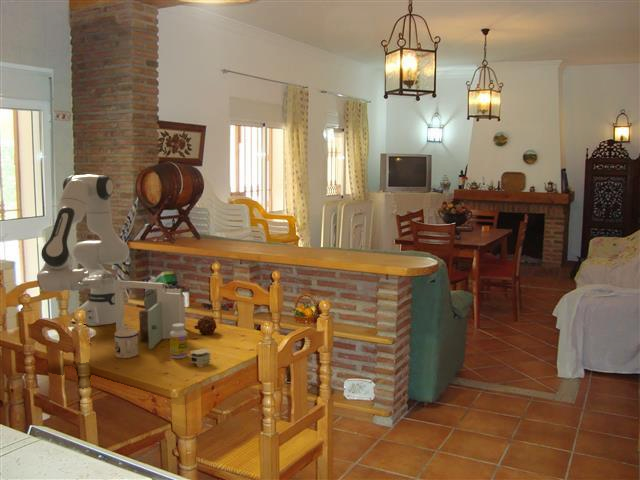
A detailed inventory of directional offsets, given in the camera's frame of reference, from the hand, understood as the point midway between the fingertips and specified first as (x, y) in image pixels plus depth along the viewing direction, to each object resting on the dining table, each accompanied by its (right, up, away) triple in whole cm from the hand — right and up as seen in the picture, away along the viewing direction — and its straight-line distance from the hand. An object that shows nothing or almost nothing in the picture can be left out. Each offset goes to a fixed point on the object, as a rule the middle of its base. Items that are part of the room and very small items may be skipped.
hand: (115, 278), depth 259 cm
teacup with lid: (+10, -30, -14) cm, 35 cm away
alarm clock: (+5, -22, +46) cm, 51 cm away
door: (+17, -27, +1) cm, 32 cm away
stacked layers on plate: (+40, -32, -24) cm, 57 cm away
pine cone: (+35, -26, +18) cm, 47 cm away
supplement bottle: (+30, -30, -15) cm, 45 cm away
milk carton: (+20, -25, +23) cm, 39 cm away
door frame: (+11, -26, +13) cm, 31 cm away
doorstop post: (+11, -27, +6) cm, 30 cm away
